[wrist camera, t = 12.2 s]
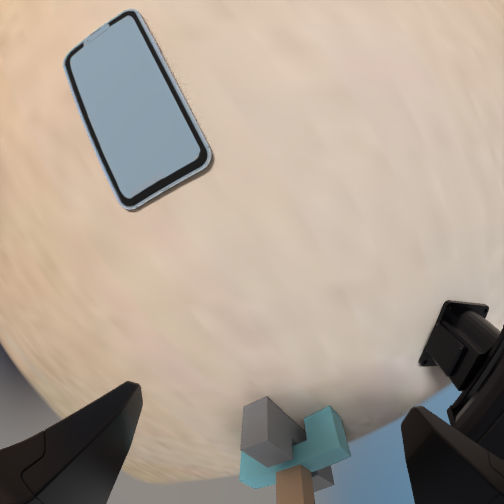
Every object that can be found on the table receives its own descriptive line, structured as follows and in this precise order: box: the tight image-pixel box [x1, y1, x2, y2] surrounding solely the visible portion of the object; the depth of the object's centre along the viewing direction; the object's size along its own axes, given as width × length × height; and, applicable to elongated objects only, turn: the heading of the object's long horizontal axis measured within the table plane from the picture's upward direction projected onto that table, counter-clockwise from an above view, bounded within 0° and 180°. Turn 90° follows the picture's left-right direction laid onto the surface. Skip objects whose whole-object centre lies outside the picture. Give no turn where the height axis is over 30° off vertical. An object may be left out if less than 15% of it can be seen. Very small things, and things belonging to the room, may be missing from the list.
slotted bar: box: [240, 397, 334, 492], centre depth 21 cm, size 12×2×5 cm, turn 36°
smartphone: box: [63, 9, 212, 210], centre depth 16 cm, size 7×1×15 cm
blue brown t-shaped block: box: [239, 406, 351, 504], centre depth 18 cm, size 10×2×10 cm, turn 126°
